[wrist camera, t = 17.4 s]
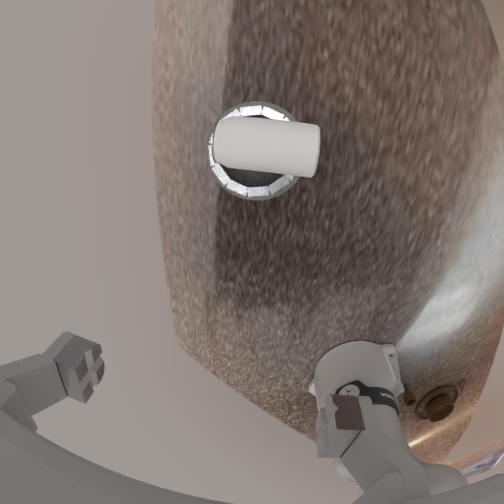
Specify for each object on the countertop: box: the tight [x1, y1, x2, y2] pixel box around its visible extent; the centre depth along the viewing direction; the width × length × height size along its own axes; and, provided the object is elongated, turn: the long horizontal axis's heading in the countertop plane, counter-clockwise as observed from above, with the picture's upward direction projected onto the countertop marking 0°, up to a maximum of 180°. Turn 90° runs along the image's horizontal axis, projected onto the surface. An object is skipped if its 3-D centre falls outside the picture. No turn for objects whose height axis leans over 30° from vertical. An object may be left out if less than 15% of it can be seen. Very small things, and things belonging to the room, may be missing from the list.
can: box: [212, 116, 321, 178], centre depth 34 cm, size 6×6×12 cm
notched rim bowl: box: [206, 101, 300, 200], centre depth 38 cm, size 14×14×3 cm
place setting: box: [401, 379, 466, 422], centre depth 51 cm, size 18×20×6 cm
